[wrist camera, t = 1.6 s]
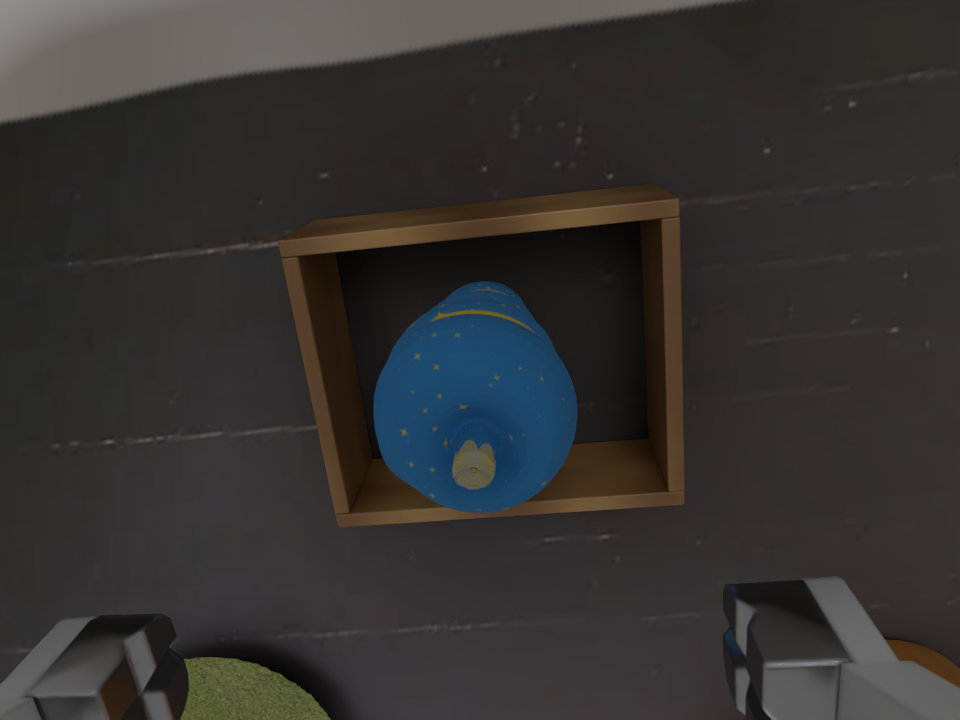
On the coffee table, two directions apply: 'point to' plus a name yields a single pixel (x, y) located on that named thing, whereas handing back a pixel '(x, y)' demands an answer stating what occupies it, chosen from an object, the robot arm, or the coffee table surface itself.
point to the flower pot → (926, 659)
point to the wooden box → (311, 250)
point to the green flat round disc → (244, 693)
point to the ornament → (475, 403)
